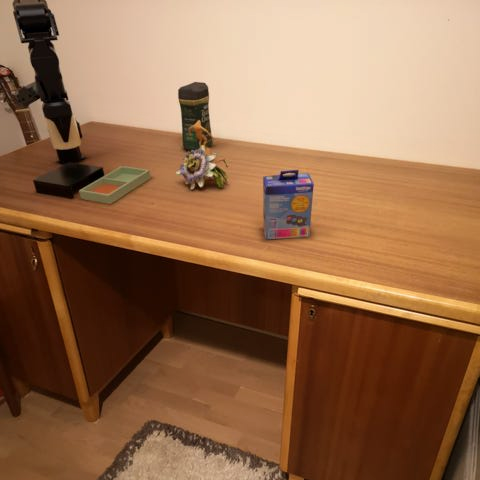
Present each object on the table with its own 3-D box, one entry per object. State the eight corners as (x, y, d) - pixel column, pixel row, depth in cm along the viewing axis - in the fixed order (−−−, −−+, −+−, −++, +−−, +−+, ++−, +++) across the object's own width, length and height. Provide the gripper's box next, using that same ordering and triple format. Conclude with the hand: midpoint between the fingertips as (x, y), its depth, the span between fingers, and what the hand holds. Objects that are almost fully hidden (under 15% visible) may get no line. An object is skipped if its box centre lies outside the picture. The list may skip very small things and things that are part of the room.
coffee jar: (201, 153, 142) (195, 87, 131) (179, 150, 145) (172, 86, 134) (216, 144, 149) (212, 80, 138) (195, 141, 152) (190, 79, 141)
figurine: (221, 160, 137) (218, 118, 130) (210, 167, 133) (206, 124, 126) (198, 156, 141) (194, 115, 133) (186, 163, 137) (182, 120, 129)
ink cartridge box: (265, 241, 98) (264, 174, 89) (262, 229, 102) (261, 164, 93) (311, 237, 98) (315, 170, 89) (306, 225, 103) (309, 160, 94)
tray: (123, 173, 132) (121, 165, 130) (150, 178, 129) (149, 169, 127) (81, 199, 119) (78, 190, 118) (110, 204, 116) (108, 195, 114)
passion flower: (195, 208, 124) (165, 172, 119) (213, 186, 131) (184, 151, 126) (223, 192, 117) (192, 153, 112) (240, 169, 123) (211, 131, 118)
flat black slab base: (72, 174, 133) (68, 162, 131) (105, 179, 129) (102, 166, 127) (36, 192, 123) (32, 180, 121) (71, 199, 119) (68, 186, 117)
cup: (66, 139, 122) (58, 111, 117) (86, 142, 119) (79, 113, 115) (47, 147, 117) (39, 118, 112) (68, 150, 114) (60, 120, 110)
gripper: (11, 66, 112) (31, 132, 122) (8, 80, 98) (31, 154, 108) (58, 61, 115) (75, 127, 125) (62, 74, 101) (80, 146, 111)
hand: (65, 138), depth 117 cm, fingers closed on cup, 7 cm apart
